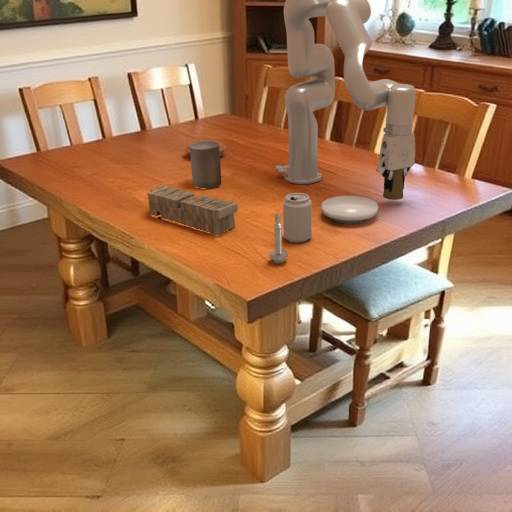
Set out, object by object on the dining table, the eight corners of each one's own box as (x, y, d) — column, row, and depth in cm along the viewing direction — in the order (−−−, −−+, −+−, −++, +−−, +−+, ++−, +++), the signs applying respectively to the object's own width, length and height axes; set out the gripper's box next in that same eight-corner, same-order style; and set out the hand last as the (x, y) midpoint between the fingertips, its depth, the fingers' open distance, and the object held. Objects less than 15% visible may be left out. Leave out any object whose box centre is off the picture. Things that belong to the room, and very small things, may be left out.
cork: (403, 200, 199) (406, 164, 194) (382, 199, 200) (385, 163, 195) (403, 193, 204) (406, 158, 200) (383, 192, 206) (385, 157, 201)
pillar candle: (226, 181, 227) (224, 137, 220) (213, 191, 219) (209, 145, 212) (201, 179, 231) (198, 135, 224) (187, 188, 223) (183, 143, 216)
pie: (235, 154, 257) (234, 141, 254) (211, 165, 245) (210, 151, 243) (202, 148, 264) (201, 136, 262) (177, 159, 252) (176, 146, 250)
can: (282, 233, 185) (281, 192, 180) (309, 232, 186) (309, 190, 181) (285, 244, 179) (284, 202, 174) (313, 243, 179) (313, 200, 174)
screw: (292, 260, 169) (279, 267, 166) (277, 255, 172) (264, 262, 169) (291, 212, 164) (278, 218, 161) (276, 208, 167) (263, 213, 164)
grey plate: (319, 226, 189) (319, 214, 188) (323, 205, 204) (324, 194, 202) (377, 228, 187) (377, 216, 185) (378, 207, 201) (378, 196, 199)
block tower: (147, 219, 201) (220, 238, 184) (143, 192, 198) (218, 209, 181) (166, 210, 207) (239, 228, 190) (162, 184, 204) (237, 200, 186)
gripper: (384, 136, 187) (379, 198, 195) (429, 127, 194) (423, 188, 202) (367, 130, 192) (363, 190, 201) (412, 121, 200) (406, 180, 208)
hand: (393, 188), depth 201 cm, fingers closed on cork, 3 cm apart
